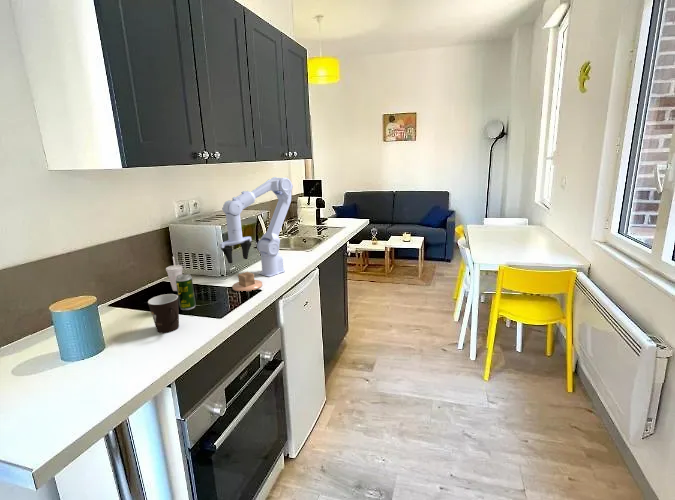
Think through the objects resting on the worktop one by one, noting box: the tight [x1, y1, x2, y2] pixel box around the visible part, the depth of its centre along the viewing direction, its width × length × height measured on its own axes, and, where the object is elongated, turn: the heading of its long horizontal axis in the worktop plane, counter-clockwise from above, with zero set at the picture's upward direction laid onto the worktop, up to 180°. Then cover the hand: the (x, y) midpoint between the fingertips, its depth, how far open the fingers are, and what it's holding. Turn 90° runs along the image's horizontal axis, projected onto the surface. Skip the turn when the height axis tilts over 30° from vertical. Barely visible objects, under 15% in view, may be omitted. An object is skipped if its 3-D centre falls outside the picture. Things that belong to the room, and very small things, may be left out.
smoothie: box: [165, 256, 184, 292], centre depth 149 cm, size 6×6×14 cm
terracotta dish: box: [231, 279, 263, 293], centre depth 150 cm, size 12×12×1 cm
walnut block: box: [237, 271, 256, 287], centre depth 150 cm, size 4×4×4 cm
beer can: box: [176, 273, 197, 311], centre depth 130 cm, size 5×5×12 cm
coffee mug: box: [147, 293, 180, 334], centre depth 113 cm, size 12×9×10 cm
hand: (238, 260), depth 154 cm, fingers open, 7 cm apart
